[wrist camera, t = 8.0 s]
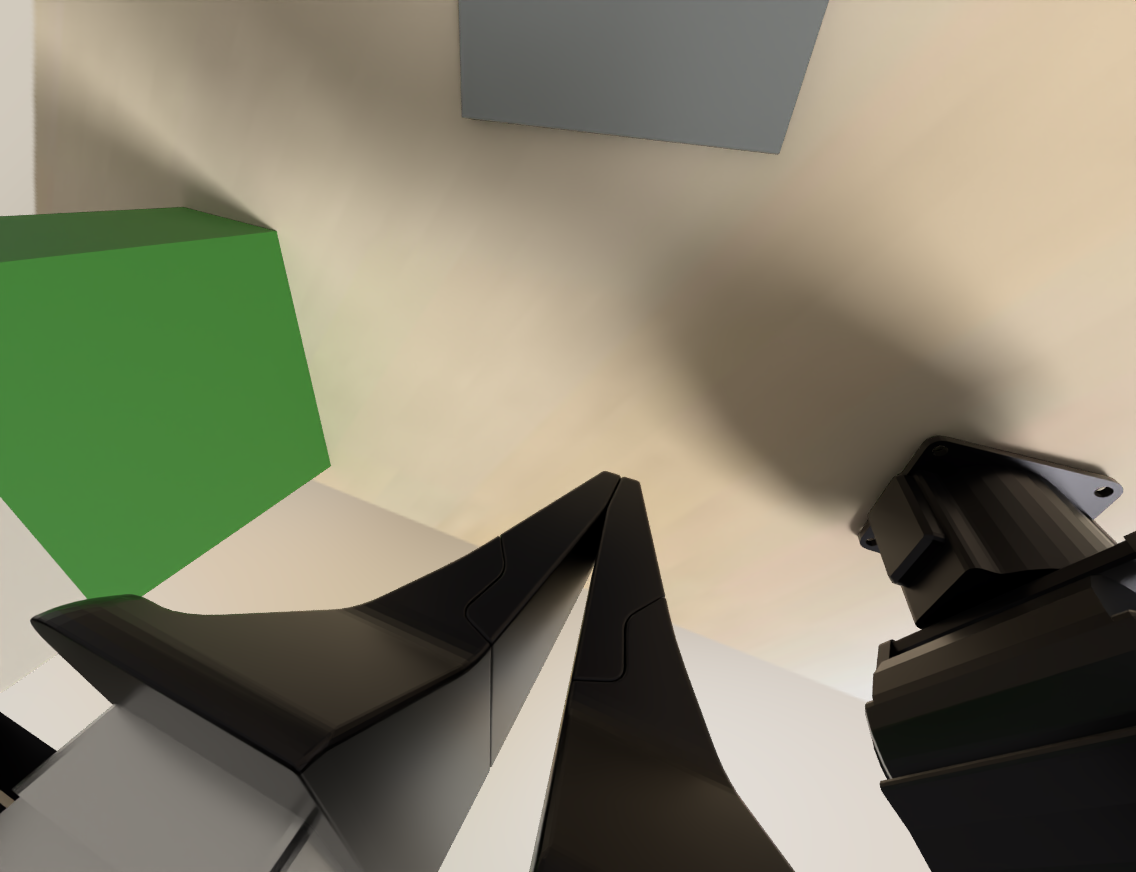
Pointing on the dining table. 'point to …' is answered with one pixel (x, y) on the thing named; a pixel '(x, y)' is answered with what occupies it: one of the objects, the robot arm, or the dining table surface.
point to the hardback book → (138, 404)
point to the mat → (640, 66)
